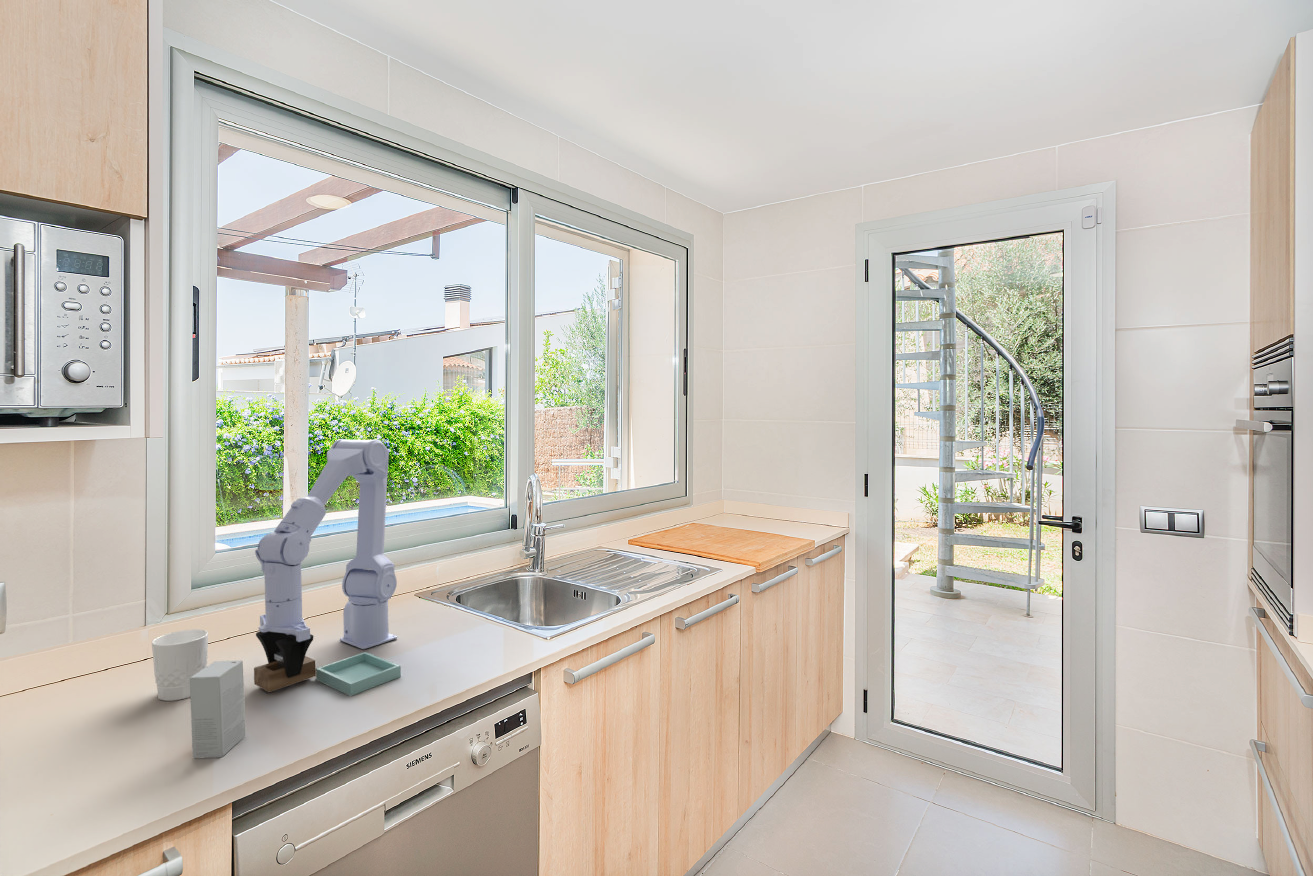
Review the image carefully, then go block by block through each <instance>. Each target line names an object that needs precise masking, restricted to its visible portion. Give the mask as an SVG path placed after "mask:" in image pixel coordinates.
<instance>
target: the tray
mask: <svg viewBox="0 0 1313 876" xmlns="http://www.w3.org/2000/svg"><path fill="white" fill-rule="evenodd" d="M401 670H402V669H401V665H399V663H398V664H397V663H395V662H392V661H390V660H388V659H385V658H382V657H380V656H376V655H375V654H372V653H369V652H367V651H364V652H361V653H358V654H355V655H353V656H349V657H347V658H343V659H340V660H337V661H335V662H331V663H329V664H328V663H327V664H326V665H321V666H320V667H316V676H315V680H316V681H318V682H320V683H322V684H325V685H327V686H328V687H331V688H333V689H336V690H338V691H339V692H341V693H344V694H346V695H348V696H349V697H351V696H355V695H357V694H361V693H362V692H364V691H367V690H369V689H372V688H375V687H377V686H380V685H383V684H386V683H388V682H390V681H393V680H395V679H398V678H401V675H402V674H401V673H402V672H401Z"/></svg>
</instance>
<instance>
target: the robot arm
mask: <svg viewBox="0 0 1313 876" xmlns="http://www.w3.org/2000/svg"><path fill="white" fill-rule="evenodd" d="M389 453H390V450H389V449H388V448H387V446H386V445H385V444H384V443H383V441H382V440H380V439H367V440H366V439H346V438H339V439H337V440H335V441H334V442H333V443H332V444H331V446H330V449H329V450H327V453H326V460H327V462H326V464H325V466H324V467H323V468H322V470H321V473H320V474H319V476H318V478H317V479H316V481H315V482H314V484H313V485H312V487H311V489H310V491H309V493H308V494H307V496H305V497H301V498H298V499H296V500H294V501H293V502H292V504H291V505H290V509H289V510H288V511H287V512H286V514H285V515H284V516H283V518H282V519H281V521H280V522H279V523H278V525H277V526H276V528H275V529H274V530H273V531H271V532H269V533H267V534H265V535H264V536H263V537H261V539H260V540H259V542H258V545H257V549H255V550H254V553H255V556H256V559H257V560H258V562H259V563H260V565H261V572H262V573H263V574H264V601H265V602H264V606H265V607H264V608H265V610H264V611H265V612H264V613H265V614H261V615H259V627H258V631H257V632H256V633H255V637H256V638H257V639H258V641H259V642H260V644H261V645H262V648H263V650H264V653H265V656H266V658H267V664H268V663H271V662H275V661H278V660H275V659H274V653H278V652H281V653H282V656H283V660H284V667H285V672H286V675H287V677H288V678H290V677H293V676H296V675H299V674H300V673H301V670H302V666H303V662H304V658H305V656H306V654H307V653H308V652H307V651H308V650H309V648H310V646H311V644H312V642H313V641H314V635H313V634H311V628H310V627H308V626H307V623H306V621H305V620H304V618H303V597H302V596H303V593H302V592H303V590H302V588H303V585H302V562H303V561H304V559H306V558H307V556H308V554H309V551H310V543H311V542H312V536H313V534H314V532H315V531H316V529H317V527H319V525H320V524H321V523H322V520H323V519H324V518H325V515H326V514H327V513H326V507H325V505H326V504H327V502H328V501H329V500H330V498H331V497H332V496H333V495H334V494H335V492H336V491H337V490H338V489H339V487H341V484H342V483H343V482H344V481H345V480H346V479H347V477H351V476H352V477H353V478H354V480H356V481H357V482H358V483H359V492H358V493H359V495H358V497H359V498H358V513H357V516H358V517H357V531H356V533H357V535H356V555H355V556H354V557H353V559H350V561H349V562H347V564H346V569H345V573H344V576H343V578H342V582H341V589H342V592H343V595H345V597H347V598H348V600H347V602H346V603H345V606H344V607H343V614H342V615H343V617H342V618H343V636H342V637H340V638H339V641H340V642H344V643H346V644H349V645H351V646H354V647H356V648H359V649H361V650H367V649H369V648H372V647H375V646H379V645H381V644H385V643H387V642H390V641H394V640H396V639H398V636H397V635H394V634H392V633H390V632H389V600H390V599H391V598H392V597H393V595H394V594H395V591H396V588H397V584H398V581H397V576H396V573H395V564H394V562H393V561H391V560H390V559H389V558H388V557H387V556H386V555H385V554H384V553H385V549H384V548H385V531H386V530H385V529H386V513H387V512H386V511H387V509H386V508H387V507H386V506H387V489H388V488H387V487H388V486H387V485H388V474H389V472H388V471H389V457H390V456H389Z"/></svg>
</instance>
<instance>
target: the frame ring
mask: <svg viewBox="0 0 1313 876" xmlns="http://www.w3.org/2000/svg"><path fill="white" fill-rule="evenodd" d="M316 665H317V664H316V659H313V658H311V657H308V656H306V655H305V658H304V662H303V666H302V670H301V673H300V674H299V675H296V676H293V677H290V678H288V677H287V675H286V672H285V667H284V668H281V669H278V661H275V662H271V663H268V662H267V663H266V664H265V663H264V664H262V665H258V666H255V667H254V668H253V681H254V683H253V684H254V686H257V687H259V688H261V689H263V690H264V691H266V692H268V693H271V692H274V691H277V690H281V689H282V688H286V687H289V686H292V685H294V684H297V683H300V682H302V681H306V680H308V679H311V678H316V668H317V667H316Z"/></svg>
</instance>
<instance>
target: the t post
mask: <svg viewBox="0 0 1313 876" xmlns="http://www.w3.org/2000/svg"><path fill="white" fill-rule="evenodd" d="M274 659H275V660H278V669H281V668H284V660H283V656H282V653H281V652H278V653H274Z"/></svg>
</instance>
